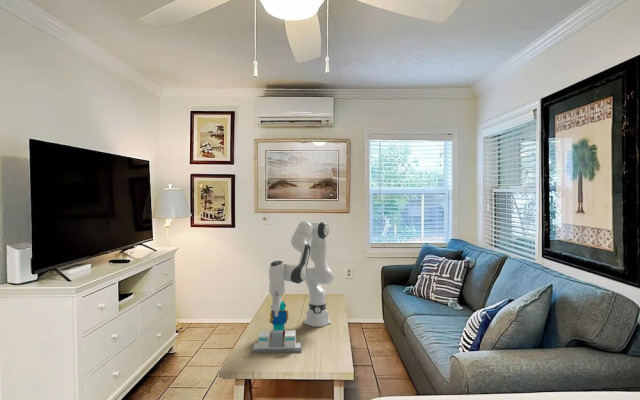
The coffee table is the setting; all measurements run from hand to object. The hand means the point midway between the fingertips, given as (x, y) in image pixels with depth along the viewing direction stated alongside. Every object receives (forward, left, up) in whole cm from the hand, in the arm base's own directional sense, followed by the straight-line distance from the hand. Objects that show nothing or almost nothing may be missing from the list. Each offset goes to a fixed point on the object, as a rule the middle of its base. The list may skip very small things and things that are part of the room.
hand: (277, 313), depth 207 cm
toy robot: (-20, -1, -21) cm, 29 cm away
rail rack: (0, 0, -21) cm, 21 cm away
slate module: (0, 0, -19) cm, 19 cm away
